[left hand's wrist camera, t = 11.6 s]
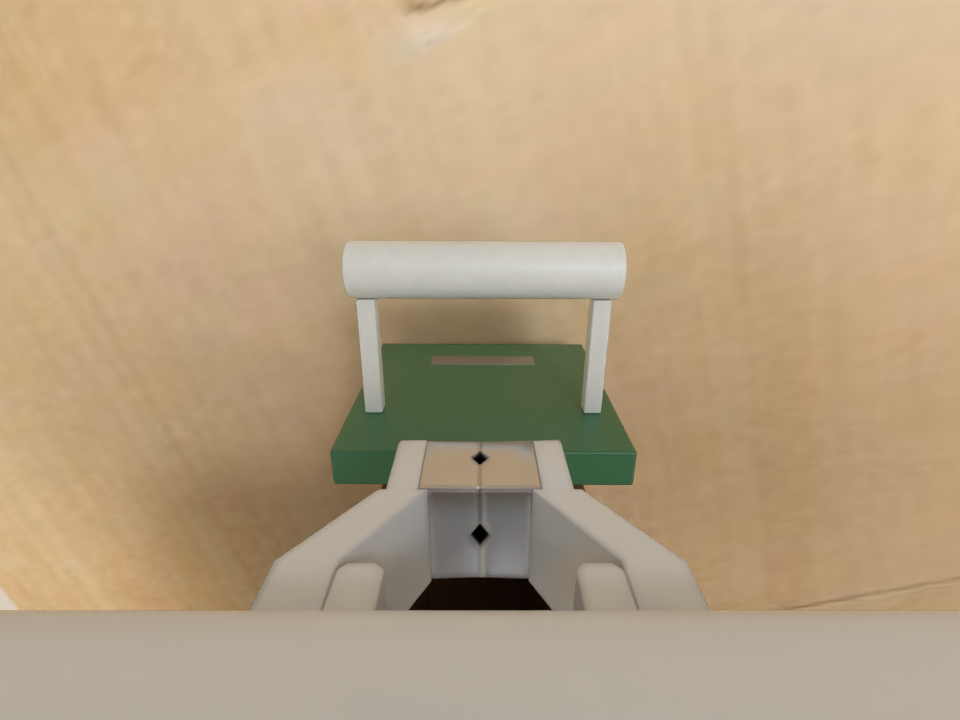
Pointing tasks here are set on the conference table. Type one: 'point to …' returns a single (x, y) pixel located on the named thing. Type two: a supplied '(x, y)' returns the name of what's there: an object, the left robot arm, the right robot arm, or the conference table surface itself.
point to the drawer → (483, 375)
